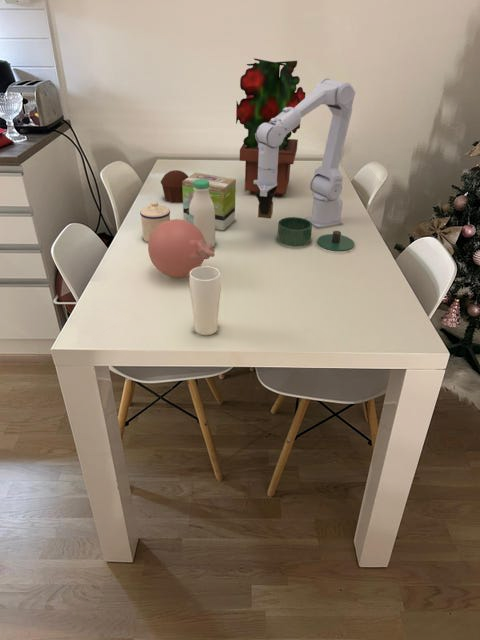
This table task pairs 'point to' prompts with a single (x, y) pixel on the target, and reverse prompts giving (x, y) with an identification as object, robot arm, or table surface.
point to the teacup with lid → (153, 218)
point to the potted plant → (267, 116)
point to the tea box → (213, 197)
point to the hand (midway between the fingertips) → (265, 211)
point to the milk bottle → (203, 210)
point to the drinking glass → (205, 298)
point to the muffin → (173, 186)
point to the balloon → (178, 248)
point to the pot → (294, 231)
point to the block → (268, 212)
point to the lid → (335, 242)
